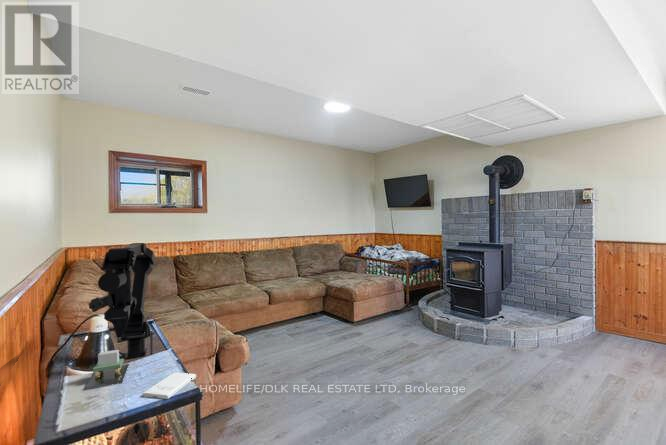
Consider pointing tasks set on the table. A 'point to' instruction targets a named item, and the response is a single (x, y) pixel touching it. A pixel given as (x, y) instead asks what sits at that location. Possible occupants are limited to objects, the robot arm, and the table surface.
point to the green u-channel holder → (108, 361)
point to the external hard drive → (169, 385)
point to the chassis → (107, 377)
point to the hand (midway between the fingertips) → (122, 333)
